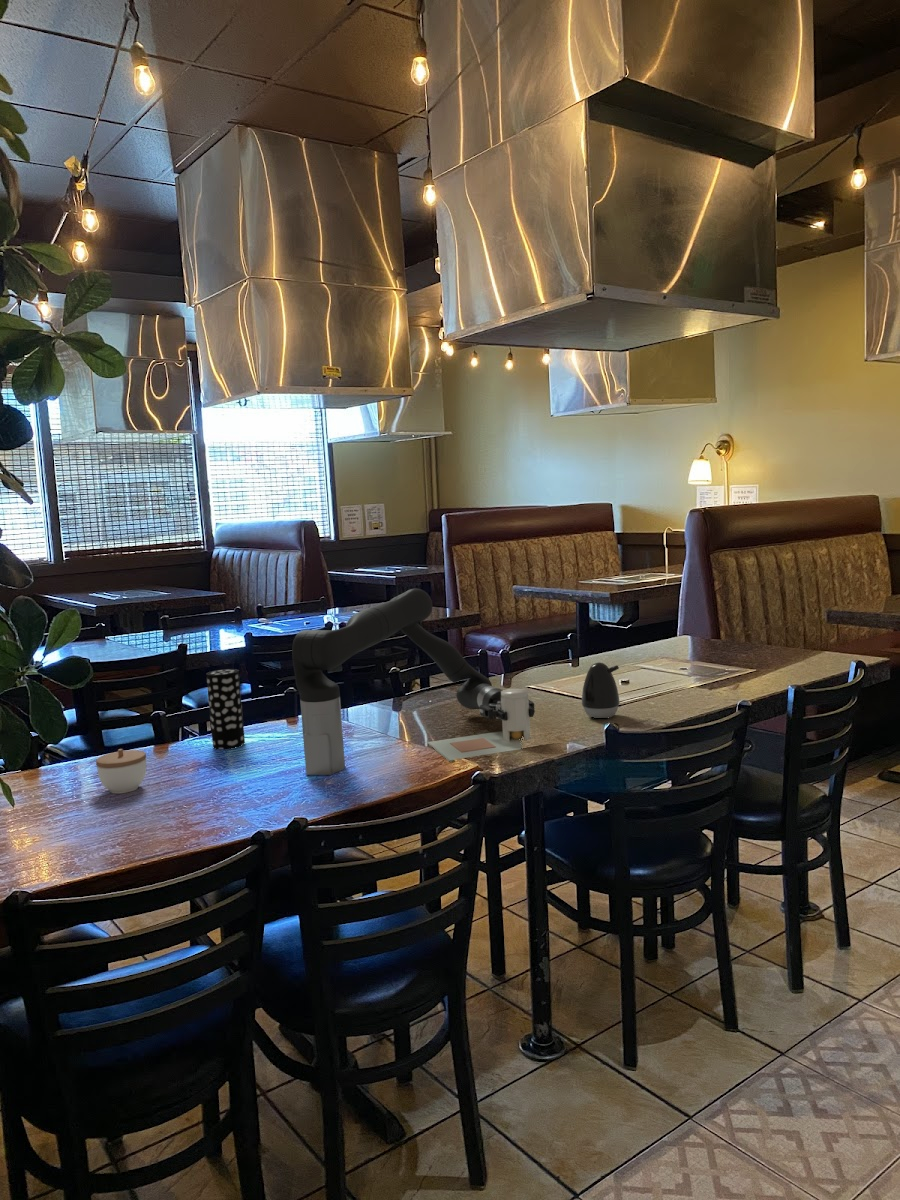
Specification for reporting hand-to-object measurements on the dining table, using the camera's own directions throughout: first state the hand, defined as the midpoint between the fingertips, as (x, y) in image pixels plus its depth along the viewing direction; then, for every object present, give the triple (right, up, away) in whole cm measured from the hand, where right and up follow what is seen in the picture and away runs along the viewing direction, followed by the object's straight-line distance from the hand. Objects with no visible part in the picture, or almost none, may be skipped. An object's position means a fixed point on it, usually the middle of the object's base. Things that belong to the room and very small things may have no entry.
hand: (519, 714), depth 218 cm
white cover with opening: (0, -6, +3) cm, 7 cm away
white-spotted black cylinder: (-76, -10, +15) cm, 79 cm away
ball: (0, -5, +3) cm, 6 cm away
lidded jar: (-92, -15, -18) cm, 95 cm away
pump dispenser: (+24, -4, +22) cm, 33 cm away
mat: (-6, -8, +1) cm, 10 cm away
